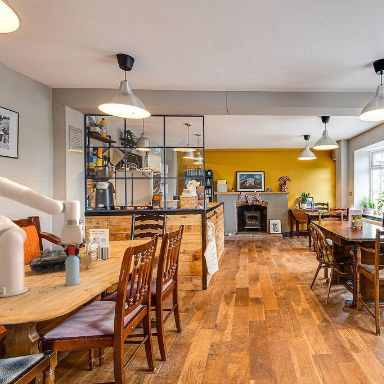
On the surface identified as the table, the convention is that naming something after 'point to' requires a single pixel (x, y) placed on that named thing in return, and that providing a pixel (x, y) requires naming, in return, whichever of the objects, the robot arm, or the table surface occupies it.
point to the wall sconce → (87, 254)
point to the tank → (49, 261)
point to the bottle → (72, 270)
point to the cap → (71, 250)
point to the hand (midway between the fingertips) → (72, 255)
